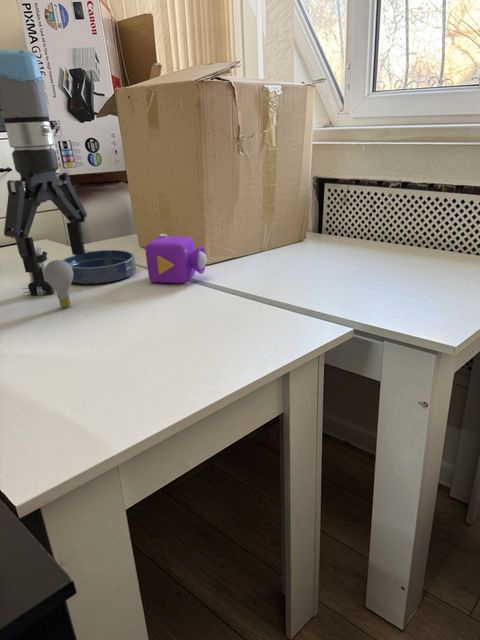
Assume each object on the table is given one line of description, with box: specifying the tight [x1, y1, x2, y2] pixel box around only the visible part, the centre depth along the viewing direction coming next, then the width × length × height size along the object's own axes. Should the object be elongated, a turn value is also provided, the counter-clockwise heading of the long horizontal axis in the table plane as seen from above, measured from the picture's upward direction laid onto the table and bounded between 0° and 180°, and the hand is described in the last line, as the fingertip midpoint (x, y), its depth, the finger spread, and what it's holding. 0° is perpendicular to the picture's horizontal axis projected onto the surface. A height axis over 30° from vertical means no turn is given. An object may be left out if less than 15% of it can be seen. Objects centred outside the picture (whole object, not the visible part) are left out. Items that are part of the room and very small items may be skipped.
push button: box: [20, 247, 55, 296], centre depth 112 cm, size 7×5×10 cm
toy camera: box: [145, 233, 208, 284], centre depth 119 cm, size 11×14×10 cm
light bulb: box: [44, 259, 73, 309], centre depth 103 cm, size 6×6×10 cm
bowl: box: [61, 249, 137, 285], centre depth 125 cm, size 17×17×4 cm
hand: (57, 263), depth 101 cm, fingers open, 13 cm apart
